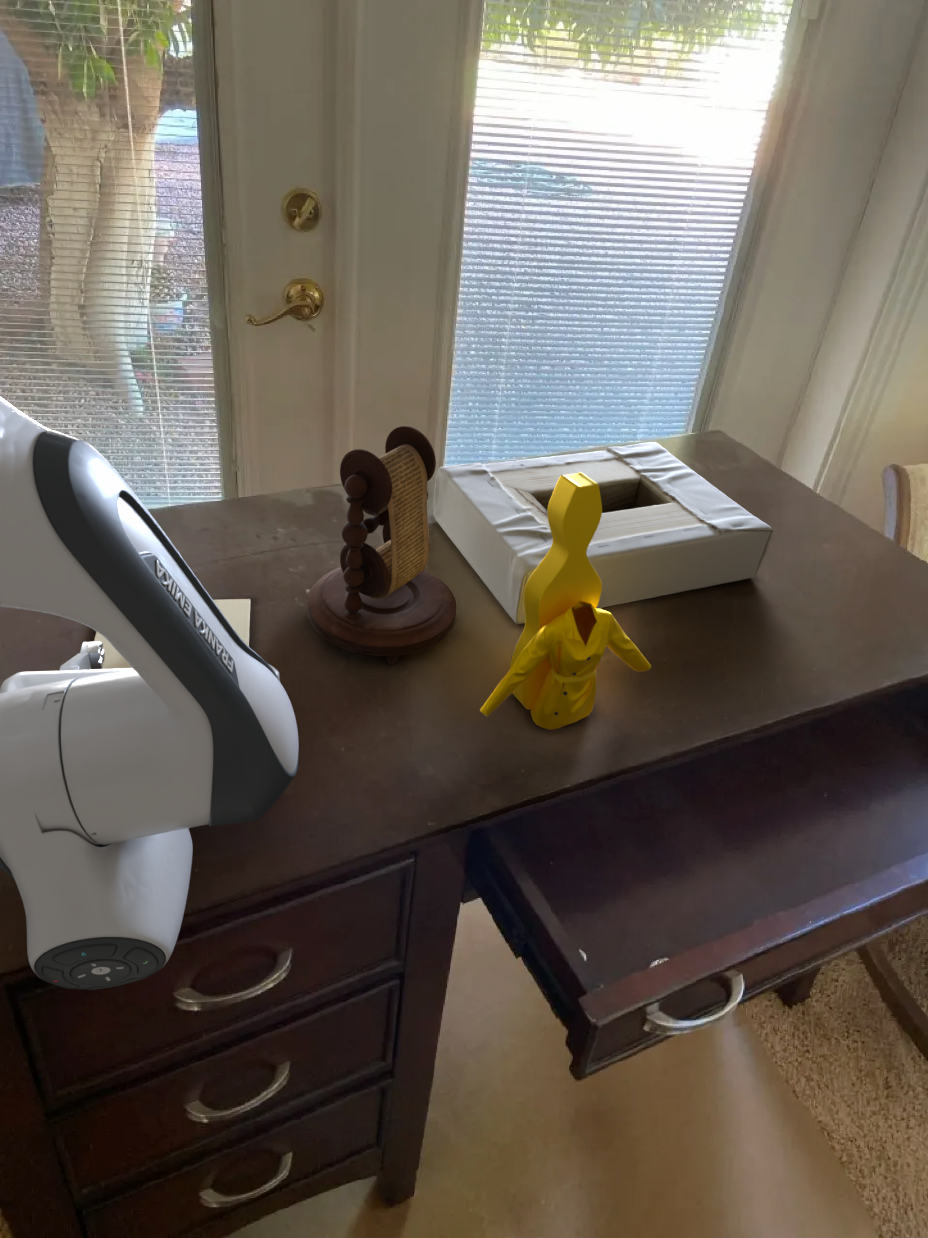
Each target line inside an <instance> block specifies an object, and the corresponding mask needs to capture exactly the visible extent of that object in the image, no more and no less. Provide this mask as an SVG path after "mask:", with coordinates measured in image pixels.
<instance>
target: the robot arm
mask: <svg viewBox="0 0 928 1238" xmlns="http://www.w3.org/2000/svg"><path fill="white" fill-rule="evenodd" d="M213 600H214V599H213V598H212V597H211V595H210V594H209V592H208V591H207V590H206V588H205V587H204V586H203V584H202V582H201V581H200V580H199V579H198V577H197V575H195V573H194V571H193V570H192V569H191V566H189V565H188V563H187V561H186V560H185V559H184V558H183V556H182V554H181V553H180V552H179V550H178V549H177V548H176V546H175V545H174V544H173V542H172V541H171V539H170V538H169V537H168V535H167V533H166V532H165V531H164V530H163V529H162V527H161V526H160V524H159V523H158V522H157V520H156V519H155V517H154V516H153V515H152V514H151V512H150V511H149V509H148V508H147V507H146V506H145V504H144V503H143V502H142V500H141V499H140V497H138V495H137V494H136V493H135V492H134V490H133V489H132V488H131V487H130V486H129V484H128V483H127V481H126V480H125V479H124V478H123V476H122V475H121V474H120V473H119V472H118V471H117V470H116V469H115V467H113V465H112V464H111V463H110V462H109V461H108V460H107V459H106V458H105V457H104V456H103V455H102V454H101V453H100V452H99V450H97V449H96V448H95V447H94V446H93V445H91V444H90V443H89V442H88V441H85V440H82V439H80V438H77V437H74V436H72V435H68V434H66V433H64V432H61V431H57V430H54V429H50V428H48V427H47V426H44V424H41V423H39V422H38V421H36V420H34V419H33V418H31V417H30V416H28V415H27V414H25V413H24V412H22V411H21V410H19V409H18V408H16V407H15V406H14V405H13V404H11V402H8V401H7V400H6V399H5V398H3V397H2V396H0V608H7V609H8V608H11V609H19V610H26V611H33V612H38V613H44V614H48V615H49V614H50V615H53V616H57V617H61V618H65V619H67V620H71V621H74V622H76V623H79V624H80V625H83V626H86V627H88V628H89V629H92V630H94V631H95V632H96V631H97V632H98V633H100V634H101V635H102V636H103V637H105V638H106V639H107V640H108V641H109V642H110V644H111V645H112V646H113V647H114V648H115V649H116V650H117V651H118V652H119V653H120V655H121V656H122V657H123V658H124V659H125V660H126V661H127V662H128V663H129V664H130V666H131V667H132V668H118V669H102V668H103V662H104V660H105V652H104V649H103V642H94V641H83V642H82V643H81V646H80V651H79V653H77V654H75V655H74V656H73V657H71V658H70V659H68V660H67V661H65V662H64V663H62V664H61V665H60V667H59V670H39V671H38V670H37V671H19V672H16V673H14V674H13V675H11V676H9V677H8V678H6V679H5V680H4V681H3V682H2V683H1V686H0V869H1V870H2V871H3V872H4V873H6V875H8V876H9V877H11V878H13V880H14V881H15V884H16V887H17V889H18V892H19V895H20V898H21V900H22V904H23V908H24V914H25V923H26V952H27V960H28V963H29V967H30V968H31V970H32V972H33V973H34V974H35V975H36V976H37V977H38V978H39V979H41V980H42V981H45V982H46V983H49V984H52V985H54V986H57V987H59V988H64V989H68V990H73V989H74V990H84V991H85V990H86V991H95V990H102V989H108V988H114V987H119V986H123V985H128V984H131V983H135V982H139V981H143V980H144V979H147V978H148V977H150V976H152V975H154V974H156V973H158V972H159V971H160V970H161V969H162V968H163V967H165V965H166V964H167V963H168V962H169V961H170V958H171V956H172V954H173V952H174V949H175V946H176V943H177V942H178V938H179V934H180V931H181V927H182V923H183V919H184V914H185V910H186V905H187V899H188V894H189V889H190V881H191V874H192V864H193V854H194V853H193V850H194V845H193V839H192V836H191V832H190V828H196V827H201V826H206V825H207V826H208V827H214V826H223V825H233V824H240V823H241V824H242V823H249V822H250V823H251V822H257V821H260V820H261V819H262V818H263V817H264V815H266V813H267V812H268V811H269V810H270V809H271V808H272V807H273V806H274V805H275V803H277V802H278V800H280V798H281V796H283V794H284V793H285V791H286V790H287V789H288V788H289V786H290V784H291V783H292V782H293V779H294V778H295V777H296V775H297V772H298V769H299V749H300V748H299V746H300V745H299V731H298V729H299V728H298V724H297V720H296V719H297V718H296V714H295V712H294V708H293V705H292V702H291V700H290V698H289V696H288V693H287V691H286V690H285V688H284V686H283V684H282V683H281V678H280V677H281V676H280V672H279V670H278V669H277V668H275V667H274V666H273V665H272V664H270V663H268V662H267V661H266V660H265V659H263V657H261V656H260V655H259V654H258V653H257V652H256V651H254V650H253V648H251V647H250V645H249V646H248V645H247V644H246V643H245V642H244V641H243V640H242V639H241V638H240V637H239V635H238V634H237V633H236V631H235V630H234V629H233V627H232V626H231V625H230V623H229V622H228V620H227V619H226V618H225V616H224V615H223V613H222V612H221V611H220V609H219V608H218V606H217V605H216V604H215V602H214V601H213Z"/></svg>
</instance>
